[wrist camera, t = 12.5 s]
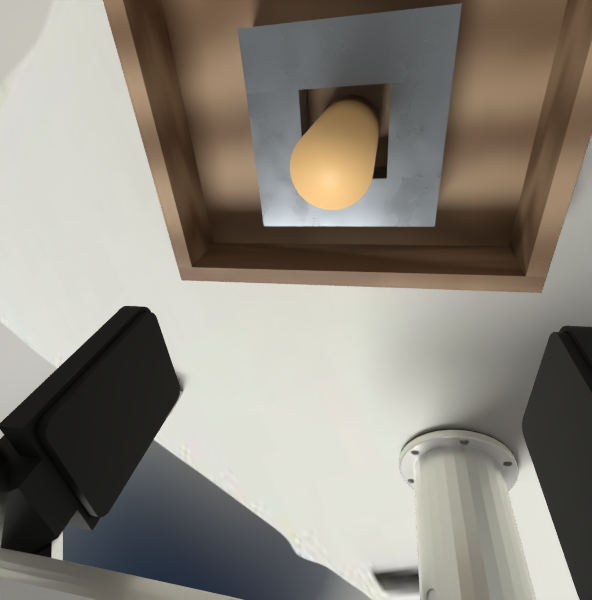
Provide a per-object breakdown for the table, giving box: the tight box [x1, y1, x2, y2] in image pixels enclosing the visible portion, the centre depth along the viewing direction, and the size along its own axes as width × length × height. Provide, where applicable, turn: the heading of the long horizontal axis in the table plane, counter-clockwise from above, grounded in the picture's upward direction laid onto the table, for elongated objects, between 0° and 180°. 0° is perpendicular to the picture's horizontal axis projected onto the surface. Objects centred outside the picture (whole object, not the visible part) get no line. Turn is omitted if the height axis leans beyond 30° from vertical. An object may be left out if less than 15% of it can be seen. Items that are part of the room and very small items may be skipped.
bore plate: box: [237, 3, 462, 227], centre depth 25 cm, size 12×12×3 cm
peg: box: [290, 94, 380, 210], centre depth 22 cm, size 4×4×10 cm
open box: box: [103, 0, 592, 293], centre depth 25 cm, size 20×26×6 cm
